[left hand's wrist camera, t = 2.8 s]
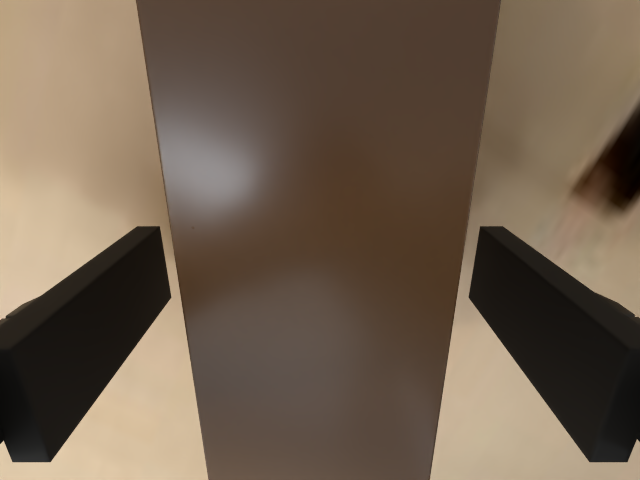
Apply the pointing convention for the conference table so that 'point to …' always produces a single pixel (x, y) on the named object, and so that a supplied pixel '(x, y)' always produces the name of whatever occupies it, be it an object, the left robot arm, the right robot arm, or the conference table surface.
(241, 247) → the plank
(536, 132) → the conference table surface
